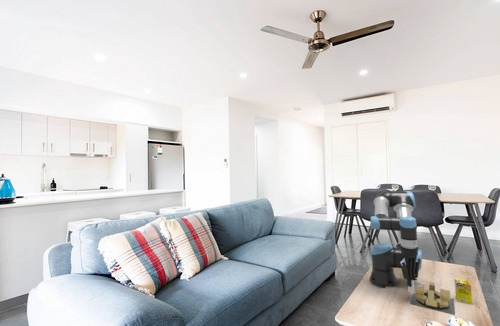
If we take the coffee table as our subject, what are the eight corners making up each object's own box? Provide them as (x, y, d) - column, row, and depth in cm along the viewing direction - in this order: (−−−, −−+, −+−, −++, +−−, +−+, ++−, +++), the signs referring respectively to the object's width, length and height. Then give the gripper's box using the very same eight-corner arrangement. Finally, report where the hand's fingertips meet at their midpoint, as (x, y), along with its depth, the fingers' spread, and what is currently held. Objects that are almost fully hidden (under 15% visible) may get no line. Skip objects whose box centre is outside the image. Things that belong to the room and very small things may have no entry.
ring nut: (413, 302, 131) (412, 289, 131) (416, 290, 143) (415, 278, 143) (451, 311, 122) (450, 297, 122) (450, 298, 134) (449, 285, 134)
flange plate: (410, 306, 130) (409, 298, 131) (413, 292, 145) (413, 285, 145) (455, 317, 120) (454, 309, 120) (454, 301, 134) (453, 293, 134)
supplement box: (472, 306, 128) (471, 284, 128) (457, 303, 131) (456, 282, 132) (470, 301, 133) (469, 280, 133) (455, 298, 136) (454, 278, 137)
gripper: (406, 250, 129) (409, 298, 128) (424, 247, 133) (427, 292, 132) (393, 246, 136) (396, 291, 135) (411, 243, 140) (413, 287, 139)
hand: (411, 292), depth 134 cm, fingers closed
